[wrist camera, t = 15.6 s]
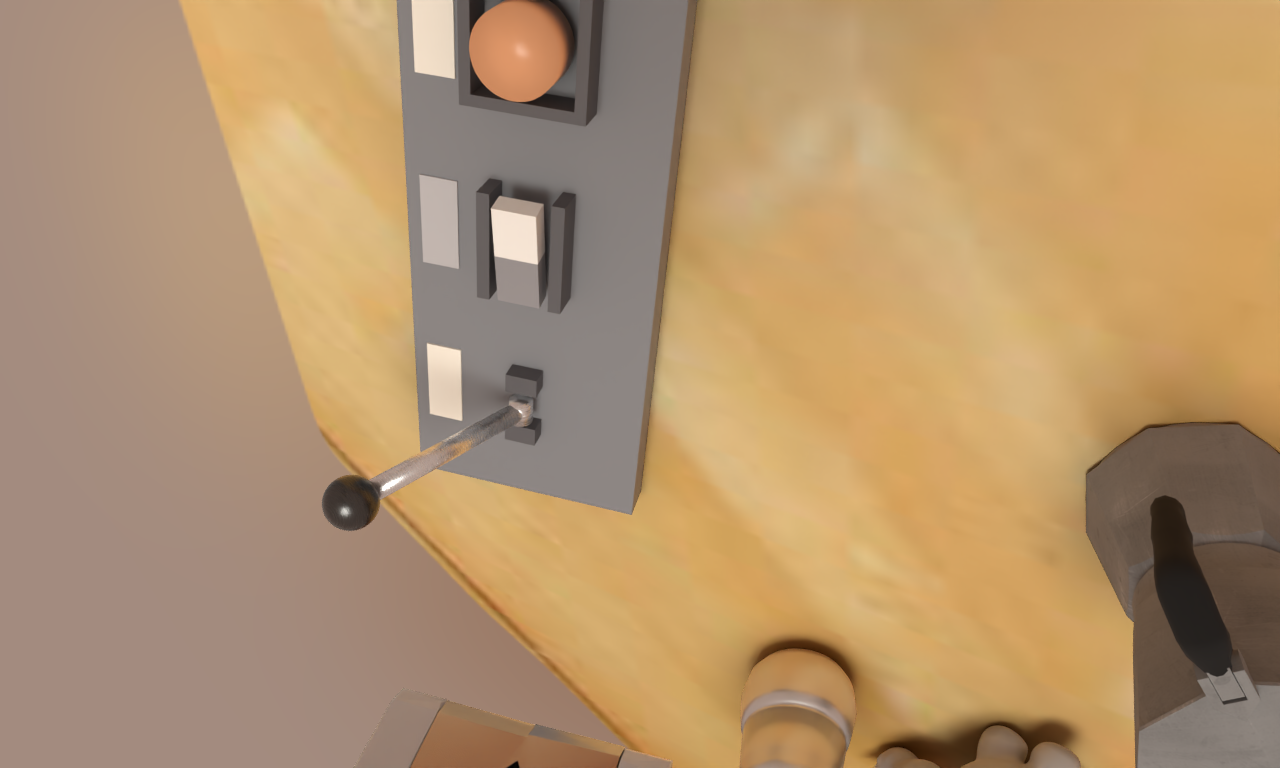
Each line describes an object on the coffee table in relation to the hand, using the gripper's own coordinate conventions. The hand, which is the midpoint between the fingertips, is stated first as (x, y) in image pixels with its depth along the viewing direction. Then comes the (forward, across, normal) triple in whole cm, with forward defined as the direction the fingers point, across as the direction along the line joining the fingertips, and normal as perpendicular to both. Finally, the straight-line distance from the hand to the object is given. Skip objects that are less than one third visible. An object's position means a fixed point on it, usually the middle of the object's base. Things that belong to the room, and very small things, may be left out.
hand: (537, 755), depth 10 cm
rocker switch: (+31, +11, +11) cm, 34 cm away
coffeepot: (+34, -20, +18) cm, 44 cm away
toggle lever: (+31, +11, +20) cm, 39 cm away
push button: (+31, +11, +2) cm, 33 cm away
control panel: (+34, +11, +11) cm, 37 cm away
